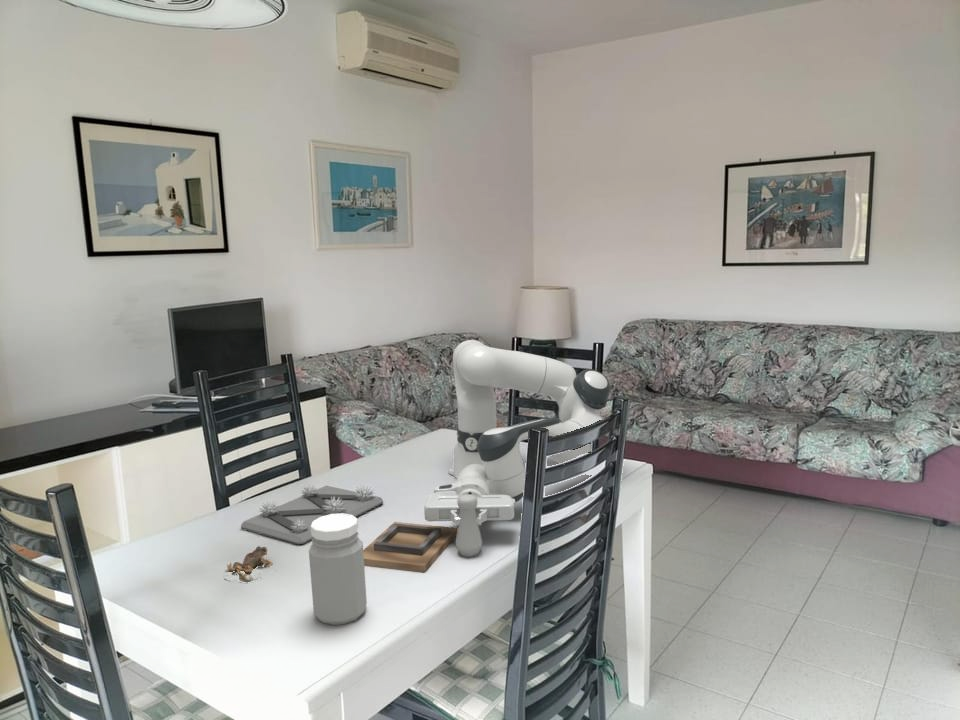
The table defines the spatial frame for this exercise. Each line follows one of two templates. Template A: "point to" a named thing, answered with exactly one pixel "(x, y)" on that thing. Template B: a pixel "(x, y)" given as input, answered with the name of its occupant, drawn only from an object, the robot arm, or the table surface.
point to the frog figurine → (250, 564)
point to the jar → (337, 569)
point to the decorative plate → (309, 512)
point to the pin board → (408, 546)
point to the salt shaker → (468, 527)
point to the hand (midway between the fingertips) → (467, 522)
